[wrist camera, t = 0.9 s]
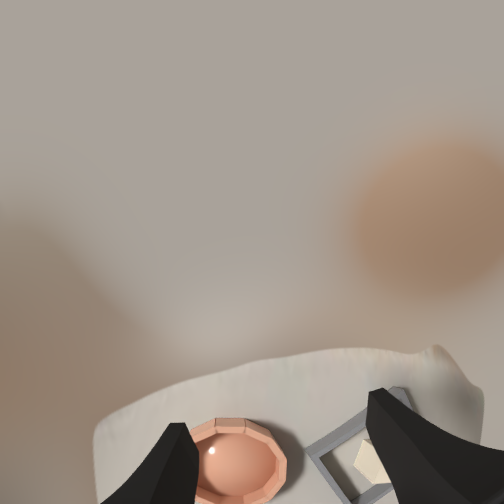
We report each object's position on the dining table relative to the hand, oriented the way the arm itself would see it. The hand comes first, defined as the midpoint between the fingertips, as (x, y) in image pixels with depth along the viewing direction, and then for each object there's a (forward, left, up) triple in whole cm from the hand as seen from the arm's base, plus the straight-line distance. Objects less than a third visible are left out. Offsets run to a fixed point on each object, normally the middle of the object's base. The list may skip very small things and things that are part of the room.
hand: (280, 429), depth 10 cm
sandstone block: (-20, -7, -22) cm, 31 cm away
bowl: (-10, +8, -22) cm, 25 cm away
